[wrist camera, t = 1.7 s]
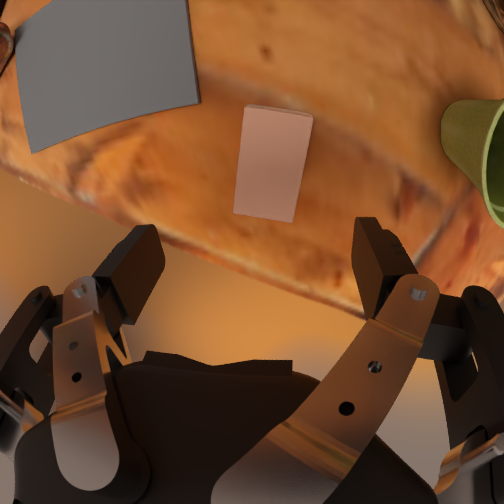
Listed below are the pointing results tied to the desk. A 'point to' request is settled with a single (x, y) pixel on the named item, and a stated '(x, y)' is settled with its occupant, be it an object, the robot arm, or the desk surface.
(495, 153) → the plant pot
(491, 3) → the jar
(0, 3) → the diary
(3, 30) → the tin
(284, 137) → the block
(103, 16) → the mat
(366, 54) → the desk surface
